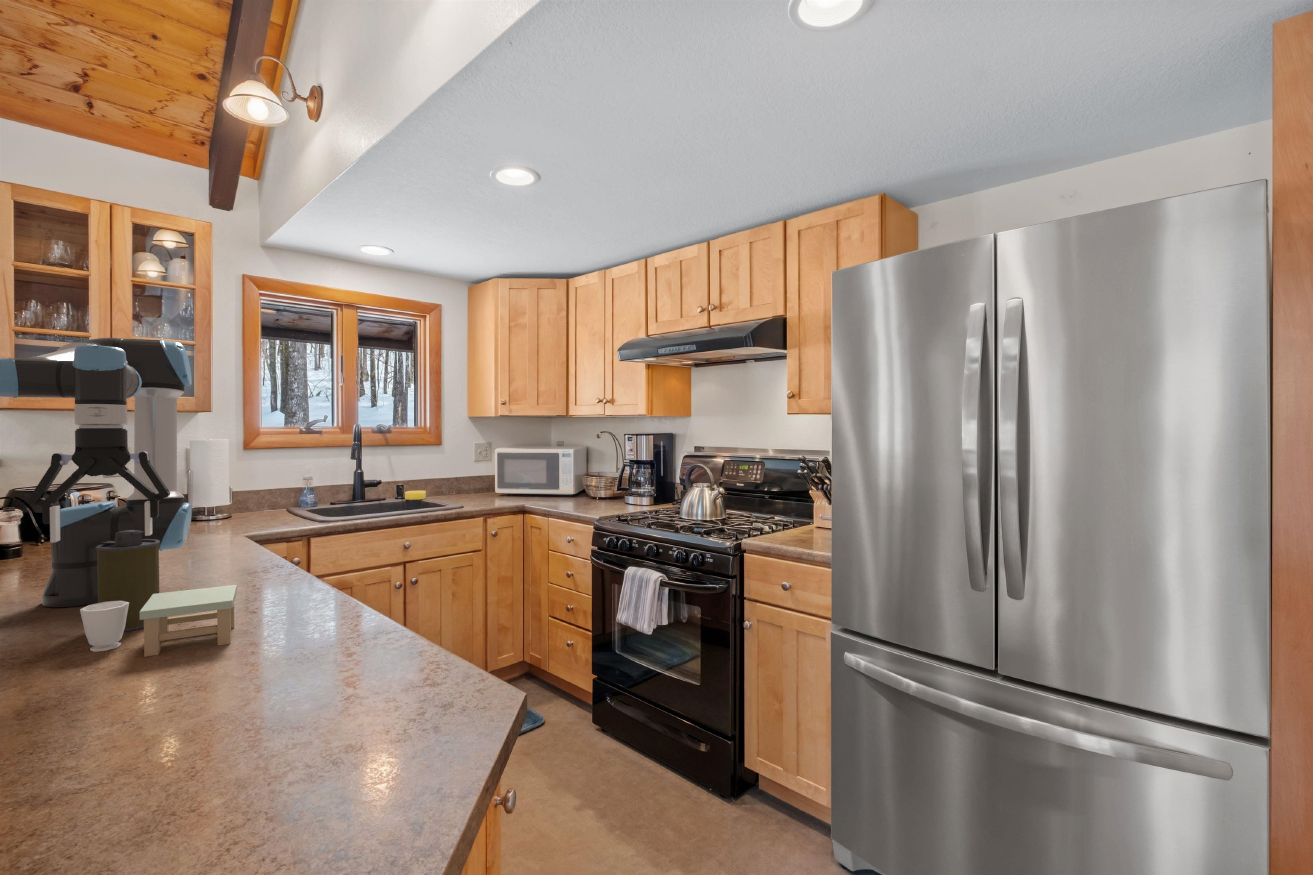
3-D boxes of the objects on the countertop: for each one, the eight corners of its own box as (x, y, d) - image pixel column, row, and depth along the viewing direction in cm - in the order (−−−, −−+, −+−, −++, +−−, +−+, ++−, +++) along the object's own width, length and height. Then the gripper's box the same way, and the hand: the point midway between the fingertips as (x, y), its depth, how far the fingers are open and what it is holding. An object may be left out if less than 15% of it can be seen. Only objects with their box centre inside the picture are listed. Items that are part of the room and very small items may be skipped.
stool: (153, 635, 125) (153, 593, 125) (237, 624, 132) (237, 584, 132) (140, 657, 113) (139, 611, 113) (233, 643, 120) (232, 600, 120)
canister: (173, 617, 137) (172, 527, 136) (129, 633, 126) (127, 535, 126) (128, 616, 138) (127, 526, 138) (81, 632, 128) (79, 535, 127)
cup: (80, 657, 114) (79, 613, 114) (81, 642, 121) (80, 601, 121) (130, 647, 118) (129, 605, 118) (128, 634, 126) (128, 595, 126)
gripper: (2, 427, 109) (5, 547, 110) (180, 426, 122) (182, 534, 122) (18, 427, 116) (20, 541, 116) (185, 427, 129) (187, 529, 129)
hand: (103, 538), depth 119 cm, fingers open, 13 cm apart
